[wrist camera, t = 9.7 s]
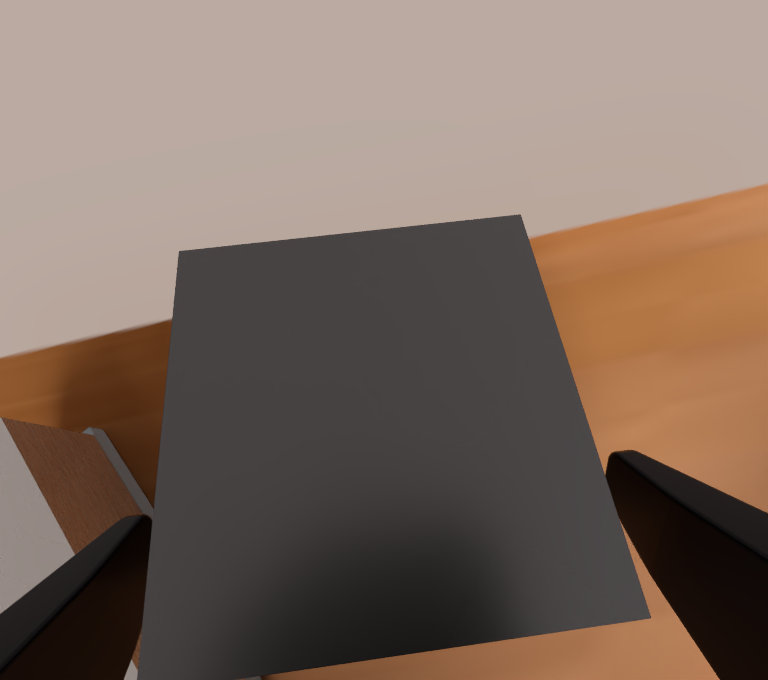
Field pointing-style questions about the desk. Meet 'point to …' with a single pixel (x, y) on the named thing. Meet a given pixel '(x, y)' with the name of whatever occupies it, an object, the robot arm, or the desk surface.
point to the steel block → (372, 458)
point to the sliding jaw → (53, 504)
